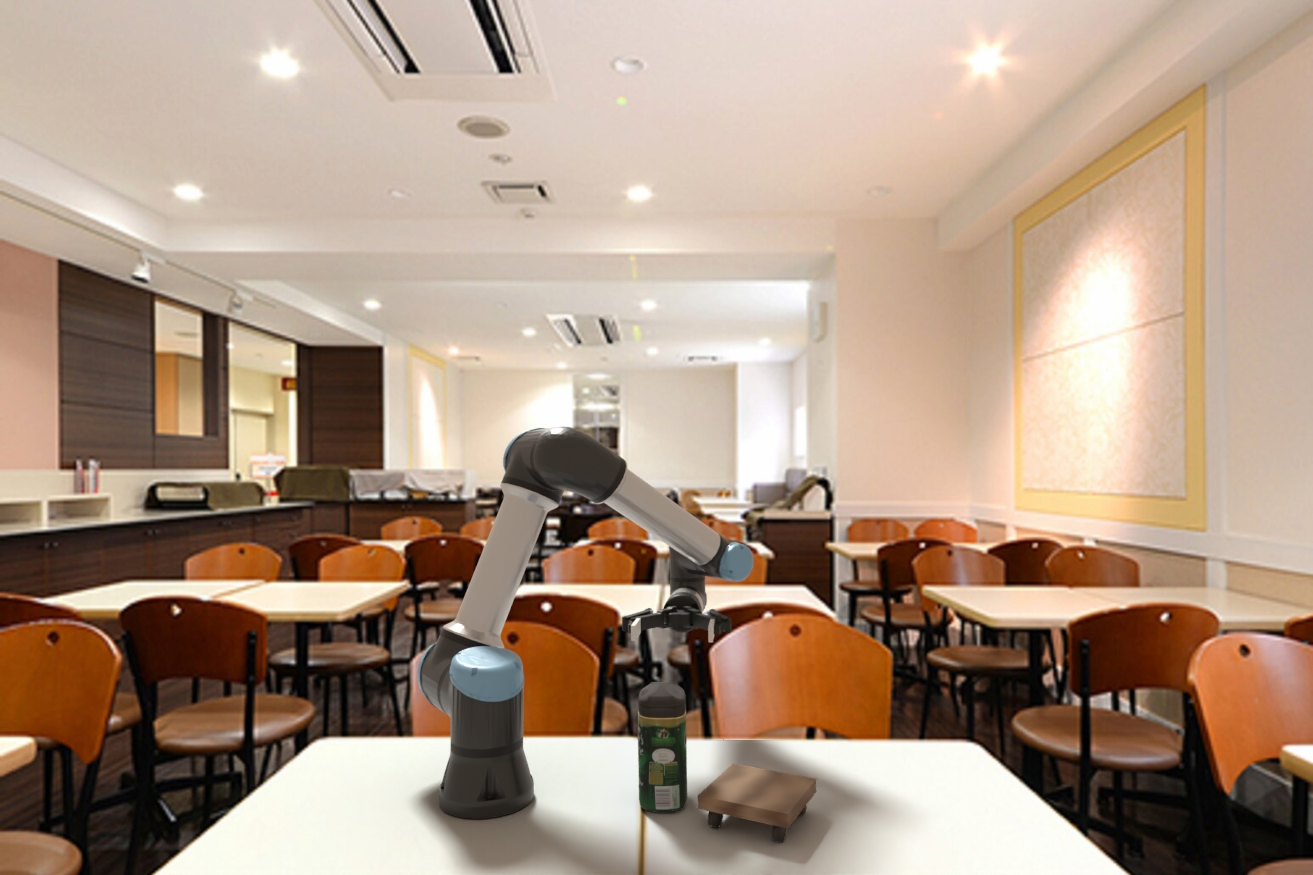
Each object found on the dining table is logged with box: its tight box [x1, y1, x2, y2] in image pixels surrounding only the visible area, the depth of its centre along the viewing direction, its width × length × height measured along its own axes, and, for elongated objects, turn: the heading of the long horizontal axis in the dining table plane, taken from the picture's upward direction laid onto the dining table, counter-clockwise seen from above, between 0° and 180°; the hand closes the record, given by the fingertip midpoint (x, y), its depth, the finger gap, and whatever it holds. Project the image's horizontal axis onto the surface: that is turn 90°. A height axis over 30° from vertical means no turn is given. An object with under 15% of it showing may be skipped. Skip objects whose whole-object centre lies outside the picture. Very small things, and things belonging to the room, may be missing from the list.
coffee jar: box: [637, 681, 688, 814], centre depth 128 cm, size 10×8×19 cm
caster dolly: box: [697, 763, 817, 843], centre depth 121 cm, size 14×14×5 cm
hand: (671, 633), depth 138 cm, fingers open, 13 cm apart
